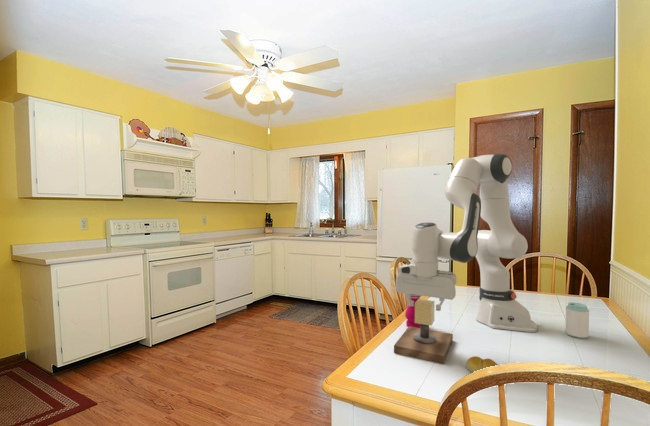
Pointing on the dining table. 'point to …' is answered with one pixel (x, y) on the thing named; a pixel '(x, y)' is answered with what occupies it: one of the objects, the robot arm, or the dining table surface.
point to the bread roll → (479, 363)
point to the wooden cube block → (424, 312)
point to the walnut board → (424, 344)
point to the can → (577, 320)
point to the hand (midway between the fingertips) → (424, 308)
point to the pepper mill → (412, 313)
